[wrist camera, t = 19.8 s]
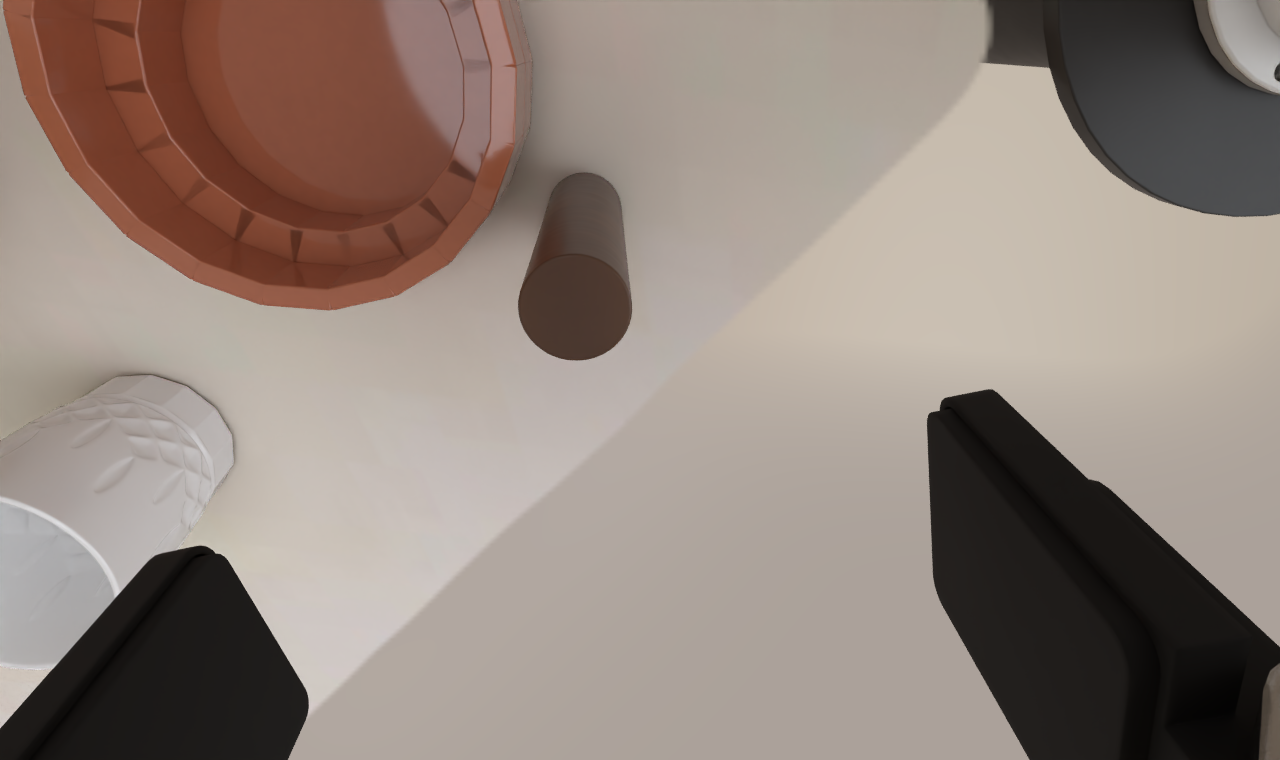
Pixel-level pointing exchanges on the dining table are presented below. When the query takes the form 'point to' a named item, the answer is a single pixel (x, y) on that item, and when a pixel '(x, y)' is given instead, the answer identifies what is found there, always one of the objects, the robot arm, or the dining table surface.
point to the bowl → (284, 132)
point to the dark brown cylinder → (578, 272)
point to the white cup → (98, 505)
